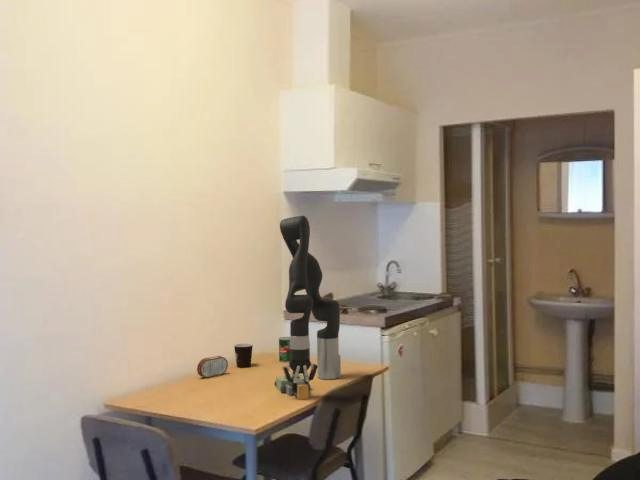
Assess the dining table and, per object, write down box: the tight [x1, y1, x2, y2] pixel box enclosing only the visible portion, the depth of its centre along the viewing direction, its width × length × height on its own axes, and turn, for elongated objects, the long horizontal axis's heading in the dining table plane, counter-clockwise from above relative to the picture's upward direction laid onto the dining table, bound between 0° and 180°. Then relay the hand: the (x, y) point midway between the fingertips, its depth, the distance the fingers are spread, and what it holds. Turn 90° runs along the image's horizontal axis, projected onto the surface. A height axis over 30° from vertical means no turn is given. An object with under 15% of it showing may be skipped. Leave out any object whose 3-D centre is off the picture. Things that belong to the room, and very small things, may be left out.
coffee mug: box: [233, 343, 253, 369], centre depth 316 cm, size 12×9×10 cm
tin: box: [196, 355, 229, 379], centre depth 295 cm, size 15×3×8 cm, turn 134°
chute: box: [292, 379, 309, 400], centre depth 257 cm, size 4×10×5 cm, turn 18°
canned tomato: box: [278, 336, 290, 363], centre depth 326 cm, size 8×8×11 cm
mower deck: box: [273, 373, 311, 397], centre depth 267 cm, size 12×15×6 cm
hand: (300, 391), depth 257 cm, fingers closed on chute, 3 cm apart
